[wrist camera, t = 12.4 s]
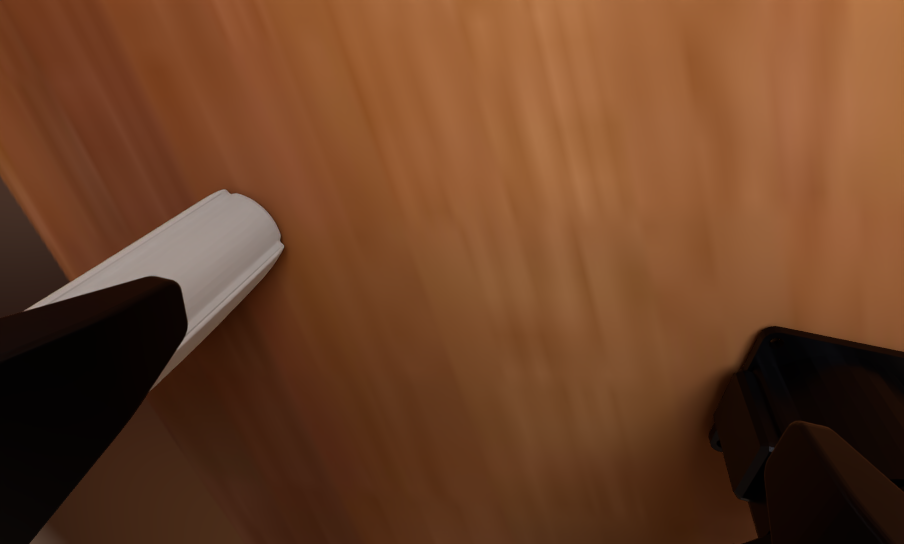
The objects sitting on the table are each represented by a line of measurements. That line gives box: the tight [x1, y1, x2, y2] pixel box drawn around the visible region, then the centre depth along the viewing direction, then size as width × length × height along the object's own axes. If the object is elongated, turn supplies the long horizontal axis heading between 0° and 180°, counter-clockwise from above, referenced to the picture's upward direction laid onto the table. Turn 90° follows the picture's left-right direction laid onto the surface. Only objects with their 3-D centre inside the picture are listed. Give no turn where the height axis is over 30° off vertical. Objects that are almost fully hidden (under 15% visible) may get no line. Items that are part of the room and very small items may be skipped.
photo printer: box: [25, 189, 284, 392], centre depth 20 cm, size 10×4×12 cm, turn 133°
